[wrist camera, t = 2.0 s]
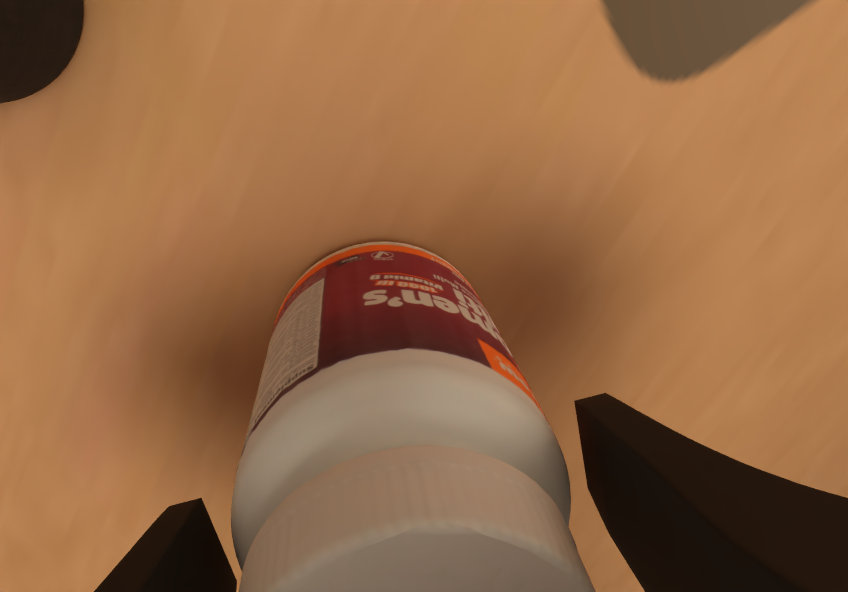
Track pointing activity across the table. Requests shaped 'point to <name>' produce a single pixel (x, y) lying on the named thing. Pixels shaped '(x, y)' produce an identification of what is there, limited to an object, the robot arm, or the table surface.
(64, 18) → the flashlight
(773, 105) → the table surface
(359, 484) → the pill bottle
